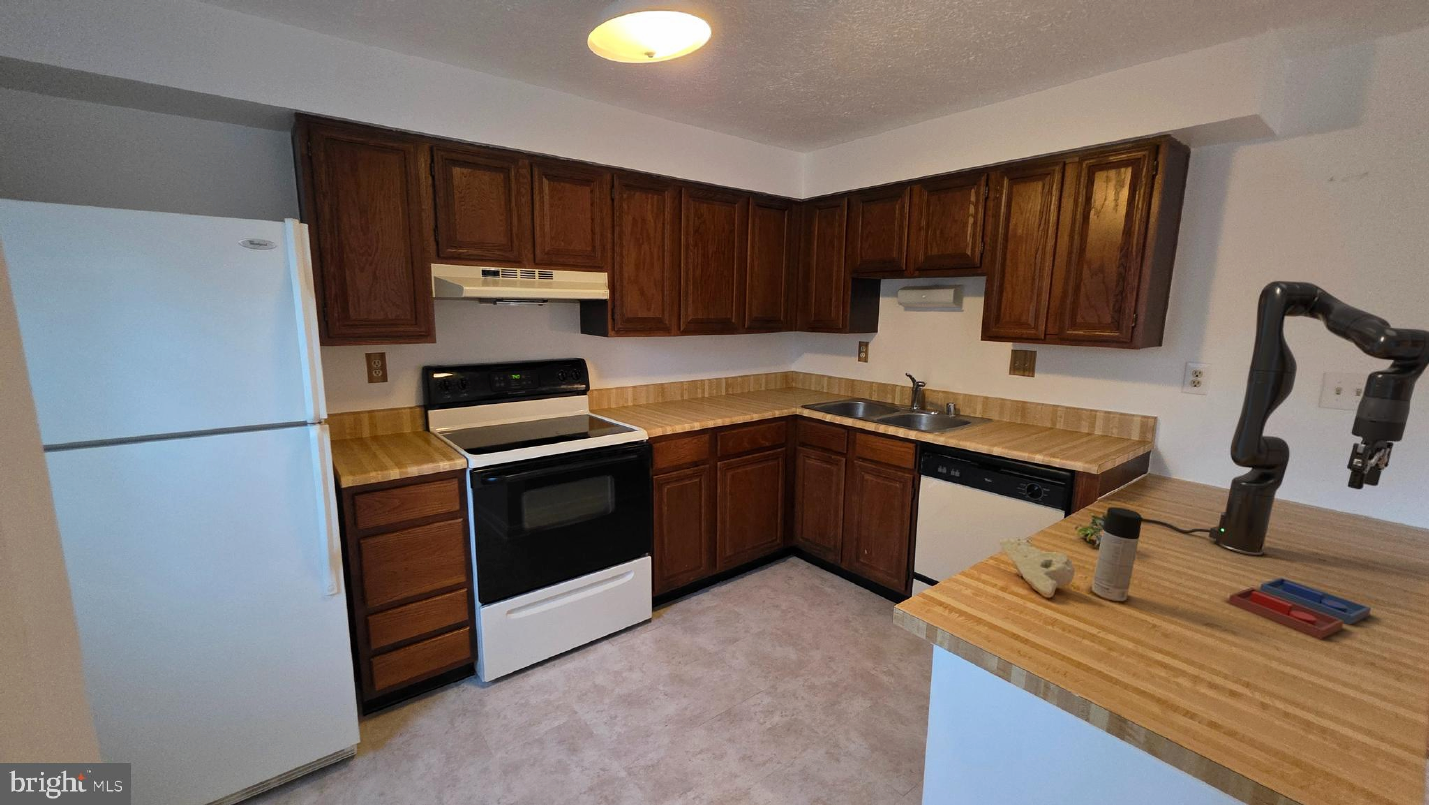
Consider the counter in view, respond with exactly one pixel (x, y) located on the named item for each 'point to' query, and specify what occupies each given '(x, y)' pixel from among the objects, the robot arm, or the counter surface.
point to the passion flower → (1090, 530)
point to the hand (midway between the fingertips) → (1362, 486)
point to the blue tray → (1350, 617)
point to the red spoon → (1280, 607)
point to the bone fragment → (1039, 566)
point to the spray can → (1117, 554)
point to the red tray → (1320, 630)
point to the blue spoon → (1312, 596)
